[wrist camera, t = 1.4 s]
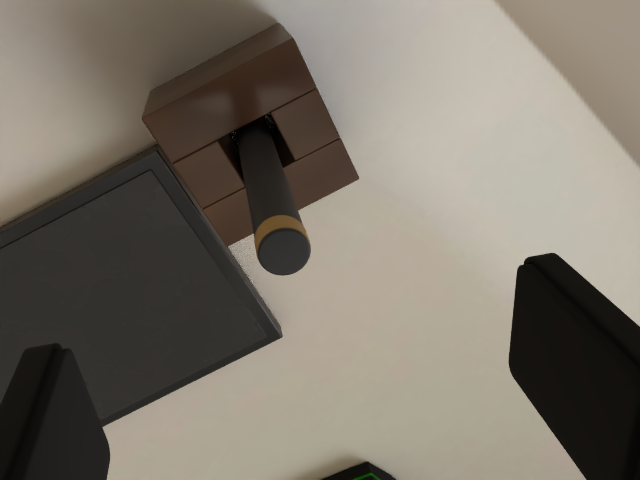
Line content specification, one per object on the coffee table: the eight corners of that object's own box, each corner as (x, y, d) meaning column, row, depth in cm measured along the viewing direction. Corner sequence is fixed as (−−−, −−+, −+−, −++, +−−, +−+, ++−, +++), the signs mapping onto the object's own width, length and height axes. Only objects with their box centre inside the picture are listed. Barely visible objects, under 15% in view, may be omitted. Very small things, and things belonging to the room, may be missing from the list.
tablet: (-147, 304, 26) (-159, 317, 25) (158, 143, 25) (157, 151, 24) (31, 452, 32) (26, 467, 31) (281, 327, 31) (283, 338, 30)
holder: (149, 91, 24) (140, 118, 20) (279, 21, 23) (293, 37, 20) (223, 206, 27) (226, 247, 23) (339, 146, 26) (359, 179, 23)
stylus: (227, 114, 25) (247, 245, 14) (256, 99, 25) (296, 219, 14) (242, 141, 25) (272, 285, 15) (271, 127, 25) (320, 261, 15)
